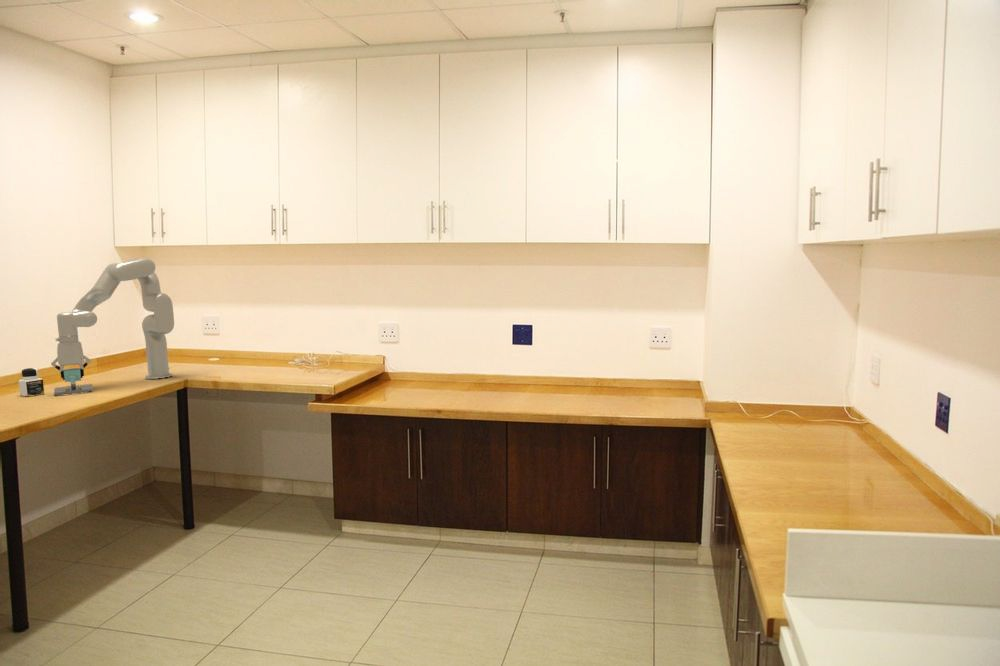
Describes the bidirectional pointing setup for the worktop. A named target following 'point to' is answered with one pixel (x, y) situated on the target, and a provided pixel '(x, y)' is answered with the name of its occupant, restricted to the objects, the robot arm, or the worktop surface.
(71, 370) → the teal hollow square block
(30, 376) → the medicine bottle
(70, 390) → the post base
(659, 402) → the worktop surface
